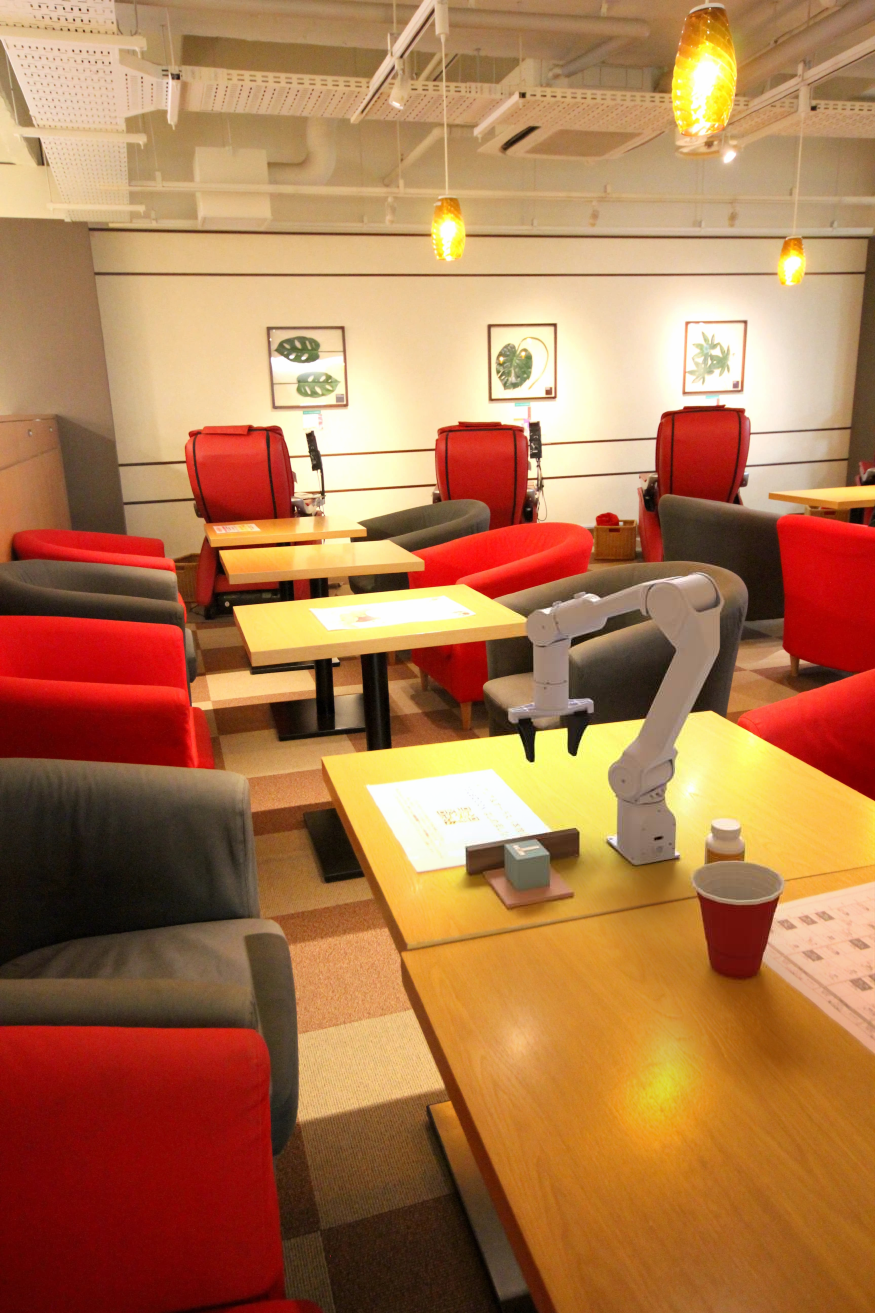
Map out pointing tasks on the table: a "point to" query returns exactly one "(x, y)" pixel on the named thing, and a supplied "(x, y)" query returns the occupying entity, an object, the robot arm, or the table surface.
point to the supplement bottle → (724, 842)
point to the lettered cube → (527, 865)
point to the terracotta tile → (527, 896)
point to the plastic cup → (737, 913)
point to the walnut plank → (493, 852)
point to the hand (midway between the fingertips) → (551, 757)
